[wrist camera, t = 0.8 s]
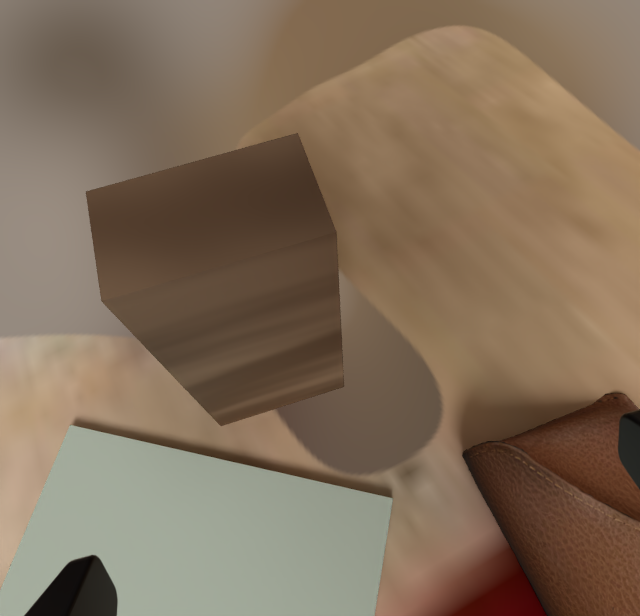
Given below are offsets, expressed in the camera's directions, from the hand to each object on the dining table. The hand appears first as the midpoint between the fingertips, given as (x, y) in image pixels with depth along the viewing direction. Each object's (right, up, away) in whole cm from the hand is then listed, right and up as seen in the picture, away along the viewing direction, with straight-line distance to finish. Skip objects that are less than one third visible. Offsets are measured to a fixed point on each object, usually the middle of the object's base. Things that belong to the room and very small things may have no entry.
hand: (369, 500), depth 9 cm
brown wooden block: (-3, 0, +17) cm, 17 cm away
